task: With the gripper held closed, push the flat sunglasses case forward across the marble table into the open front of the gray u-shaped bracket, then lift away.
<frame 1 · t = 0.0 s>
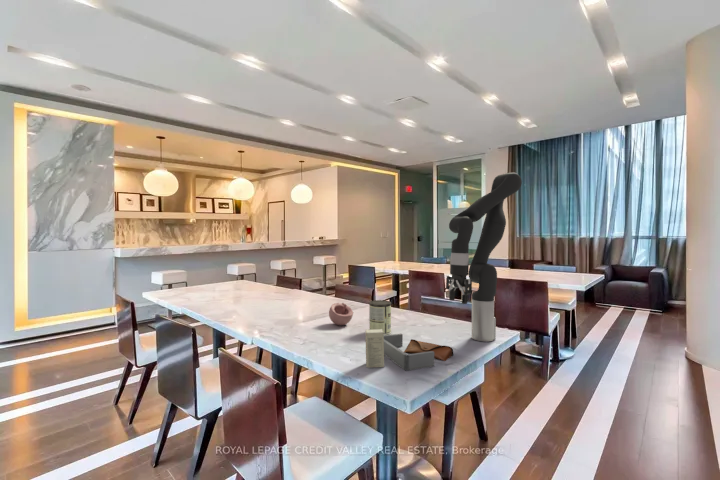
hand: (457, 301, 150), 17 cm above the table, tool pointing down, fingers open, 8 cm apart
mortar and pestle: (340, 325, 177), on the table
skincare box: (374, 366, 123), on the table
gray u-shaped bracket: (404, 356, 132), on the table
coffee can: (380, 332, 165), on the table
sunglasses case: (427, 355, 135), on the table
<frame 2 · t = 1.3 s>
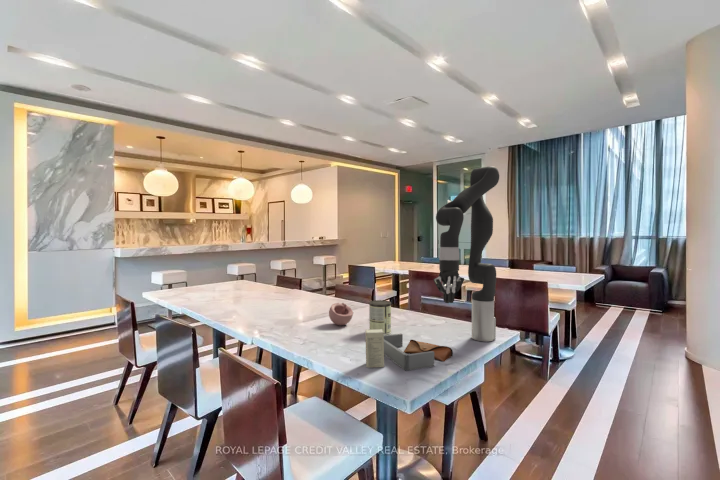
hand: (448, 302, 139), 19 cm above the table, tool pointing down, fingers closed
nothing on the table moved.
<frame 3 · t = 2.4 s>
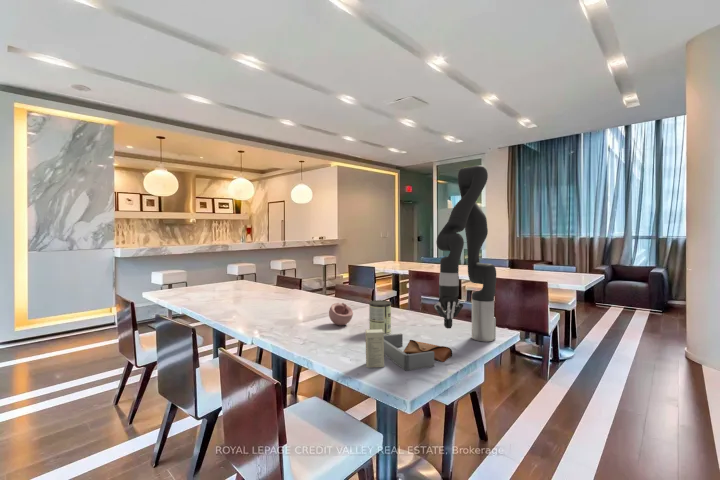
hand: (448, 327, 139), 9 cm above the table, tool pointing down, fingers closed
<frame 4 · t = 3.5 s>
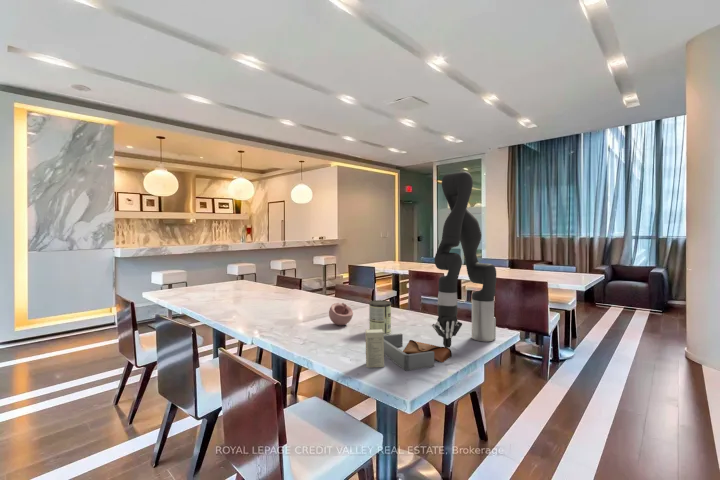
hand: (447, 347, 139), 2 cm above the table, tool pointing down, fingers closed
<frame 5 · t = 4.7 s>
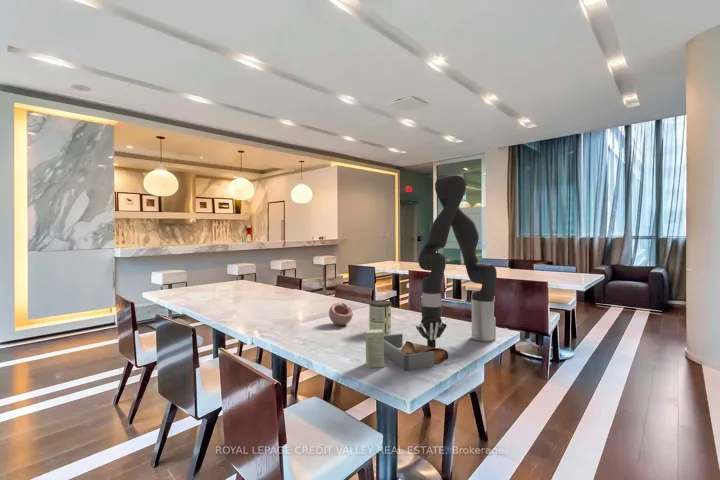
hand: (431, 348, 136), 2 cm above the table, tool pointing down, fingers closed
sunglasses case: (421, 358, 132), on the table, touching gripper
everything else where it was.
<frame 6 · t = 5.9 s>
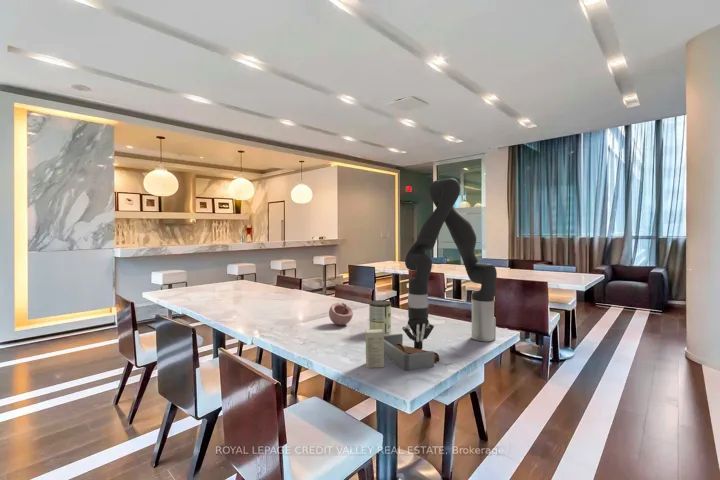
hand: (418, 350, 134), 2 cm above the table, tool pointing down, fingers closed
sunglasses case: (412, 360, 130), on the table, touching gripper
everything else where it was.
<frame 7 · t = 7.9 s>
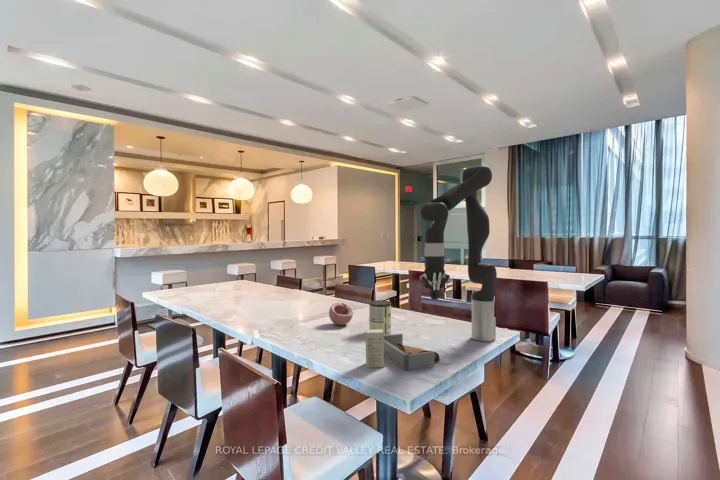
hand: (434, 299, 136), 21 cm above the table, tool pointing down, fingers closed
sunglasses case: (412, 360, 130), on the table
everything else where it was.
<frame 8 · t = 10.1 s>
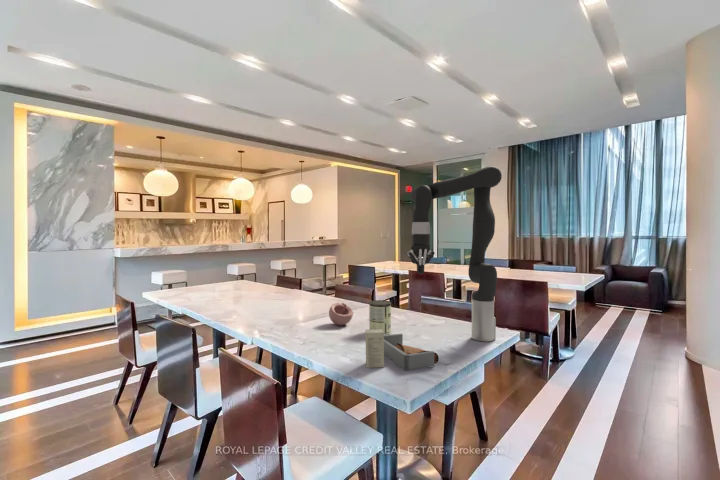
hand: (420, 273, 150), 29 cm above the table, tool pointing down, fingers closed
nothing on the table moved.
at the end: sunglasses case inside the target area (4.2 cm from its centre), on the table; sunglasses case moved 9.0 cm from its start; skincare box moved 0.2 cm from its start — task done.
